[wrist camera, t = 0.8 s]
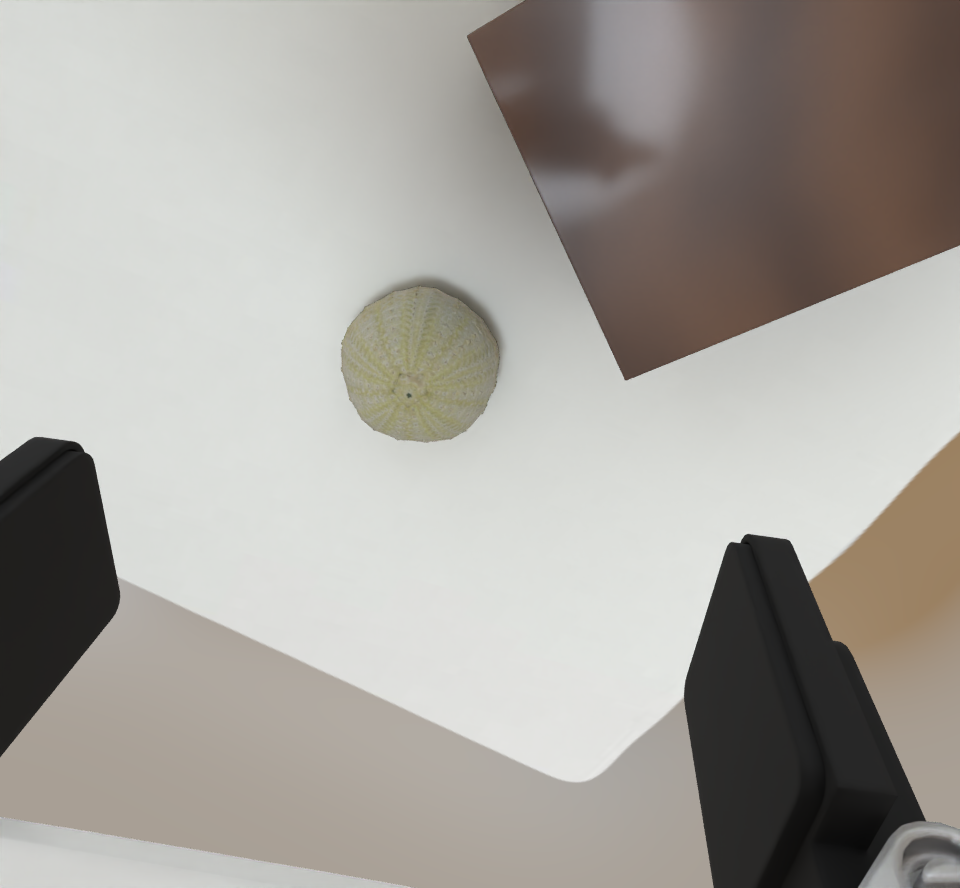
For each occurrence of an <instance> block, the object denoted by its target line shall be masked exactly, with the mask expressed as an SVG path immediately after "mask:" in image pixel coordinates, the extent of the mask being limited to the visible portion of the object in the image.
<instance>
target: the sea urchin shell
mask: <svg viewBox="0 0 960 888" xmlns="http://www.w3.org/2000/svg"><path fill="white" fill-rule="evenodd" d="M341 344H342V349H341V357H342V367H341V369H342V370H341V371H342V372H343V376H344V379H345V382H346V386H347V390H348V394H349V400H350V401H351V402H352V403H353V405H354V407H355V408H356V409H357V412H358V414H359V416H360V417H361V419H362V420H363V421H364V422H365V423H366V424H367V425H369V426H370V427H371V428H373V430H375V431H379V432H381V433H384V434H386V435H389V436H391V437H394V438H395V439H396V440H413V441H421V442H430V441H432V442H433V441H439V440H447V439H452V438H453V437H455V436H457V435H459V434H461V433H463V432H465V431H466V430H467V429H468V428H469V427H470V426H471V425H472V424H473V423H474V422H475V420H476V419H477V418H478V417H479V416H480V414H483V412H484V410H485V408H486V406H487V402H488V400H489V397H490V395H491V393H492V392H493V389H494V387H496V383H497V381H496V378H497V370H498V365H499V352H498V346H497V342H496V341H495V339H494V337H493V336H492V334H491V332H490V331H489V329H488V327H487V326H486V324H485V323H484V319H482V318H480V317H479V316H478V315H477V314H476V313H474V312H473V311H472V310H471V309H470V308H469V307H468V306H466V305H465V304H464V303H462V302H461V301H460V300H459V299H457V298H454V297H452V296H449V295H448V294H445V293H443V292H442V291H440V290H437V289H436V288H428V287H420V285H419V286H417V287H413V288H410V289H407V290H401V291H393V292H392V293H391V294H389V295H387V296H386V297H384V298H382V299H380V300H378V301H377V302H374V303H373V304H371V305H368V306H366V307H365V308H364V310H363V311H362V312H361V313H360V314H359V315H358V316H357V318H356V319H355V320H354V321H353V322H352V323H351V325H350V326H349V327H348V328H347V331H346V334H345V336H344V339H343V340H342V343H341Z"/></svg>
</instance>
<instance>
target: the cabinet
mask: <svg viewBox="0 0 960 888" xmlns="http://www.w3.org/2000/svg"><path fill="white" fill-rule="evenodd" d="M467 38H468V40H469V42H470V45H471V47H472V49H473V51H474V53H475V55H476V58H477V60H478V62H479V64H480V66H481V68H482V71H483V73H484V75H485V77H486V79H487V81H488V84H489V86H490V88H491V90H492V92H493V94H494V97H495V99H496V101H497V103H498V105H499V108H500V110H501V112H502V114H503V116H504V118H505V121H506V123H507V125H508V127H509V129H510V131H511V134H512V136H513V138H514V140H515V142H516V144H517V147H518V149H519V151H520V153H521V155H522V157H523V160H524V162H525V164H526V166H527V168H528V170H529V173H530V175H531V177H532V179H533V181H534V183H535V186H536V188H537V190H538V192H539V194H540V197H541V199H542V201H543V203H544V205H545V207H546V210H547V212H548V214H549V216H550V218H551V220H552V223H553V225H554V227H555V229H556V231H557V233H558V236H559V238H560V240H561V242H562V244H563V246H564V249H565V251H566V253H567V255H568V257H569V259H570V262H571V264H572V266H573V268H574V270H575V272H576V275H577V277H578V279H579V281H580V283H581V285H582V288H583V290H584V292H585V294H586V296H587V299H588V301H589V303H590V305H591V307H592V309H593V312H594V314H595V316H596V318H597V320H598V322H599V325H600V327H601V329H602V331H603V333H604V335H605V338H606V340H607V342H608V344H609V346H610V348H611V351H612V353H613V355H614V357H615V359H616V361H617V364H618V366H619V368H620V370H621V372H622V374H623V377H624V379H625V380H629V379H631V378H634V377H636V376H638V375H641V374H643V373H646V372H648V371H651V370H653V369H656V368H658V367H661V366H663V365H666V364H668V363H671V362H673V361H675V360H678V359H680V358H683V357H685V356H688V355H690V354H693V353H695V352H698V351H700V350H703V349H705V348H708V347H710V346H712V345H715V344H717V343H720V342H722V341H725V340H727V339H730V338H732V337H735V336H737V335H740V334H742V333H745V332H747V331H749V330H752V329H754V328H757V327H759V326H762V325H764V324H767V323H769V322H772V321H774V320H777V319H779V318H782V317H784V316H786V315H789V314H791V313H794V312H796V311H799V310H801V309H804V308H806V307H809V306H811V305H814V304H816V303H819V302H821V301H823V300H826V299H828V298H831V297H833V296H836V295H838V294H841V293H843V292H846V291H848V290H851V289H853V288H856V287H858V286H860V285H863V284H865V283H868V282H870V281H873V280H875V279H878V278H880V277H883V276H885V275H888V274H890V273H893V272H895V271H897V270H900V269H902V268H905V267H907V266H910V265H912V264H915V263H917V262H920V261H922V260H925V259H927V258H930V257H932V256H934V255H937V254H939V253H942V252H944V251H947V250H949V249H952V248H954V247H957V246H959V245H960V0H525V1H523V2H521V3H520V4H518V5H517V6H515V7H513V8H512V9H510V10H508V11H507V12H505V13H503V14H502V15H500V16H498V17H497V18H495V19H493V20H492V21H490V22H488V23H487V24H485V25H483V26H482V27H480V28H479V29H477V30H475V31H474V32H472V33H470V34H469V35H467Z"/></svg>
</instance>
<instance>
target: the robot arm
mask: <svg viewBox="0 0 960 888" xmlns="http://www.w3.org/2000/svg"><path fill="white" fill-rule="evenodd" d="M119 601H120V590H119V586H118V580H117V575H116V570H115V565H114V560H113V555H112V550H111V545H110V540H109V535H108V530H107V525H106V520H105V514H104V509H103V504H102V499H101V494H100V489H99V484H98V479H97V474H96V469H95V464H94V461H93V458H92V457H91V456H90V455H89V454H87V453H85V452H84V449H83V448H82V447H81V445H80V444H78V443H76V442H73V441H66V440H58V439H51V438H44V437H34V438H32V439H30V440H28V441H27V442H26V443H24V444H23V445H21V446H20V447H19V448H17V449H16V450H15V451H13V452H12V453H10V454H9V455H8V456H6V457H5V458H4V459H2V460H1V461H0V757H1V755H2V754H3V753H4V752H5V750H6V749H7V748H8V747H9V746H10V744H11V743H12V742H13V741H14V739H15V738H16V737H17V736H18V734H19V733H20V732H21V731H22V729H23V728H24V727H25V726H26V724H27V723H28V722H29V721H30V720H31V718H32V717H33V716H34V715H35V713H36V712H37V711H38V710H39V708H40V707H41V706H42V705H43V703H44V702H45V701H46V699H47V698H48V697H49V696H50V695H51V694H52V692H53V691H54V690H55V689H56V687H57V686H58V685H59V684H60V682H61V681H62V680H63V679H64V677H65V676H66V675H67V674H68V672H69V671H70V670H71V669H72V668H73V666H74V665H75V664H76V662H77V661H78V660H79V659H80V658H81V656H82V655H83V654H84V653H85V651H86V650H87V649H88V648H89V646H90V645H91V644H92V643H93V642H94V640H95V639H96V638H97V636H98V635H99V634H100V632H102V630H103V629H104V628H105V627H106V625H107V624H108V623H109V622H110V620H111V619H112V618H113V616H114V615H115V613H116V611H117V609H118V605H119ZM684 702H685V709H686V715H687V722H688V728H689V735H690V740H691V747H692V753H693V760H694V766H695V772H696V778H697V785H698V790H699V798H700V804H701V810H702V816H703V823H704V829H705V835H706V841H707V848H708V854H709V860H710V867H711V873H712V879H713V885H714V888H960V829H957V828H954V827H951V826H948V825H945V824H942V823H938V822H926V820H925V818H924V815H923V813H922V811H921V809H920V806H919V804H918V802H917V800H916V797H915V795H914V793H913V791H912V788H911V786H910V784H909V782H908V779H907V777H906V775H905V773H904V770H903V768H902V766H901V764H900V761H899V759H898V757H897V755H896V753H895V750H894V748H893V746H892V743H891V741H890V739H889V737H888V734H887V732H886V730H885V727H884V725H883V723H882V721H881V718H880V716H879V714H878V712H877V709H876V707H875V705H874V703H873V700H872V698H871V696H870V694H869V691H868V689H867V687H866V685H865V683H864V680H863V678H862V676H861V674H860V671H859V669H858V667H857V664H856V662H855V660H854V658H853V656H852V654H851V652H850V651H849V649H848V647H847V646H846V645H844V644H843V643H841V642H838V641H833V640H832V638H831V636H830V633H829V631H828V628H827V626H826V624H825V621H824V619H823V617H822V614H821V612H820V610H819V607H818V605H817V602H816V600H815V598H814V595H813V593H812V591H811V588H810V586H809V583H808V581H807V579H806V576H805V574H804V572H803V569H802V567H801V564H800V562H799V560H798V557H797V555H796V553H795V550H794V548H793V546H792V544H791V542H790V541H789V540H787V539H780V538H773V537H766V536H758V535H751V534H747V535H745V536H744V537H743V539H742V540H741V543H734V542H731V543H729V545H728V546H727V548H726V551H725V554H724V557H723V561H722V564H721V567H720V570H719V574H718V577H717V580H716V583H715V586H714V590H713V593H712V596H711V599H710V603H709V606H708V609H707V612H706V615H705V619H704V622H703V625H702V628H701V632H700V635H699V638H698V641H697V644H696V648H695V651H694V654H693V657H692V661H691V664H690V667H689V670H688V673H687V677H686V681H685V690H684ZM0 888H414V887H409V886H403V885H397V884H392V883H386V882H380V881H374V880H369V879H363V878H357V877H352V876H347V875H341V874H335V873H329V872H323V871H318V870H311V869H306V868H300V867H294V866H288V865H283V864H276V863H271V862H265V861H259V860H254V859H247V858H242V857H236V856H230V855H224V854H218V853H213V852H206V851H201V850H195V849H189V848H183V847H178V846H172V845H166V844H160V843H154V842H147V841H142V840H136V839H130V838H124V837H119V836H113V835H107V834H101V833H95V832H89V831H83V830H77V829H71V828H65V827H59V826H53V825H47V824H41V823H35V822H29V821H22V820H16V819H10V818H4V817H0Z"/></svg>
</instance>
